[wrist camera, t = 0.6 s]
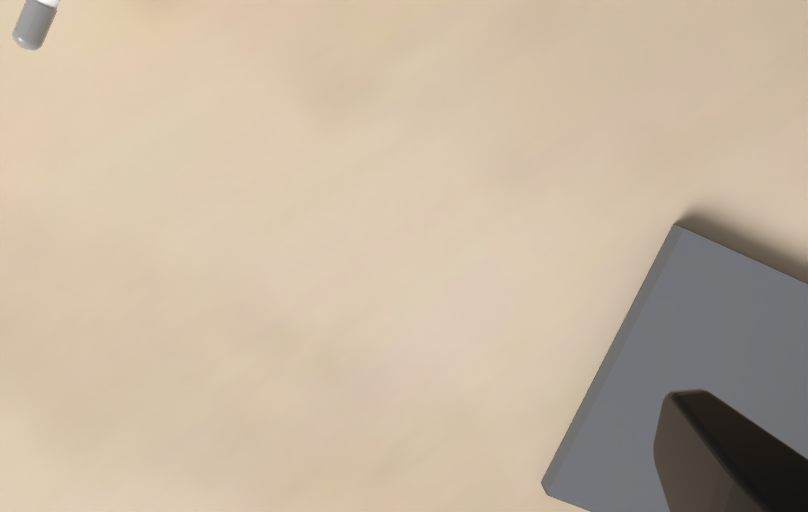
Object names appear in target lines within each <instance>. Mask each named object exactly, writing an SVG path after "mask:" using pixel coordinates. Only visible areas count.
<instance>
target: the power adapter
mask: <svg viewBox="0 0 808 512" xmlns="http://www.w3.org/2000/svg"><path fill="white" fill-rule="evenodd" d="M59 2H60V0H26V2H25V4H24V7H23V9H22V11H21V14H20V16H19V18H18V21H17V23H16V25H15V28H14V30H13V33H12V36H13V39H14V41H15V42H16V43H17V44H18V45H19V46H20V47H22V48H24V49H27V50H37V49H39V48H40V47H41V46H42V44H43V42H44V40H45V38H46V35H47V33H48V31H49V28H50V26H51V24H52V22H53V19H54V17H55V15H56V12H57V10H56V9H57V7H58V4H59Z"/></svg>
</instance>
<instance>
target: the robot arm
mask: <svg viewBox="0 0 808 512" xmlns="http://www.w3.org/2000/svg"><path fill="white" fill-rule="evenodd" d="M653 457H654V463H655V467H656V470H657V473H658V476H659V480H660V483H661V486H662V489H663V492H664V495H665V499H666V502H667V505H668V508H669V511H670V512H808V459H807V458H806V457H804V456H803V455H802V454H800V453H799V452H797V451H796V450H794V449H793V448H791V447H790V446H788V445H787V444H785V443H784V442H782V441H781V440H780V439H778V438H777V437H775V436H774V435H772V434H771V433H769V432H768V431H766V430H765V429H763V428H762V427H760V426H759V425H758V424H756V423H755V422H753V421H752V420H750V419H749V418H747V417H746V416H744V415H743V414H741V413H740V412H738V411H737V410H736V409H734V408H733V407H731V406H730V405H728V404H727V403H725V402H724V401H722V400H721V399H719V398H718V397H716V396H715V395H714V394H712V393H710V392H709V391H706V390H704V389H689V390H677V391H671V392H668V393H667V394H666V395H665V396H664V398H663V401H662V405H661V409H660V414H659V419H658V423H657V428H656V433H655V438H654V443H653Z"/></svg>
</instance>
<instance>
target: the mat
mask: <svg viewBox="0 0 808 512" xmlns="http://www.w3.org/2000/svg"><path fill="white" fill-rule="evenodd" d="M689 389H704V390H706V391H709V392H710V393H712V394H714V395H715V396H716V397H718V398H719V399H721V400H722V401H724V402H725V403H727V404H728V405H730V406H731V407H733V408H734V409H736V410H737V411H738V412H740V413H741V414H743V415H744V416H746V417H747V418H749V419H750V420H752V421H753V422H755V423H756V424H758V425H759V426H760V427H762V428H763V429H765V430H766V431H768V432H769V433H771V434H772V435H774V436H775V437H777V438H778V439H780V440H781V441H782V442H784V443H785V444H787V445H788V446H790V447H791V448H793V449H794V450H796V451H797V452H799V453H800V454H802V455H803V456H804V457H806V458H807V459H808V284H806V283H804V282H802V281H800V280H797V279H795V278H793V277H791V276H788V275H786V274H784V273H782V272H780V271H777V270H775V269H773V268H771V267H769V266H766V265H764V264H762V263H760V262H758V261H755V260H753V259H751V258H749V257H746V256H744V255H742V254H740V253H738V252H735V251H733V250H731V249H729V248H727V247H724V246H722V245H720V244H718V243H716V242H713V241H711V240H709V239H707V238H704V237H702V236H700V235H698V234H696V233H693V232H691V231H689V230H687V229H685V228H682V227H680V226H677V225H675V224H673V226H672V228H671V230H670V232H669V234H668V236H667V238H666V240H665V242H664V244H663V246H662V248H661V249H660V251H659V253H658V255H657V257H656V259H655V261H654V263H653V265H652V267H651V269H650V271H649V273H648V275H647V277H646V279H645V281H644V283H643V285H642V287H641V288H640V290H639V292H638V294H637V296H636V298H635V300H634V302H633V304H632V306H631V308H630V310H629V312H628V314H627V316H626V318H625V320H624V322H623V324H622V326H621V328H620V329H619V331H618V333H617V335H616V337H615V339H614V341H613V343H612V345H611V347H610V349H609V351H608V353H607V355H606V357H605V359H604V361H603V363H602V365H601V367H600V368H599V370H598V372H597V374H596V376H595V378H594V380H593V382H592V384H591V386H590V388H589V390H588V392H587V394H586V396H585V398H584V400H583V402H582V404H581V406H580V407H579V409H578V411H577V413H576V415H575V417H574V419H573V421H572V423H571V425H570V427H569V429H568V431H567V433H566V435H565V437H564V439H563V441H562V443H561V445H560V447H559V448H558V450H557V452H556V454H555V456H554V458H553V460H552V462H551V464H550V466H549V468H548V470H547V472H546V474H545V476H544V478H543V480H542V482H541V484H542V486H543V488H544V490H545V492H546V494H547V495H548V496H551V497H553V498H556V499H559V500H561V501H564V502H567V503H569V504H572V505H575V506H577V507H580V508H583V509H585V510H588V511H591V512H670V511H669V508H668V505H667V502H666V499H665V495H664V492H663V489H662V486H661V483H660V480H659V476H658V473H657V470H656V467H655V463H654V457H653V443H654V438H655V433H656V428H657V423H658V419H659V414H660V409H661V405H662V401H663V398H664V396H665V395H666V394H667V393H668V392H671V391H677V390H689Z"/></svg>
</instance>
